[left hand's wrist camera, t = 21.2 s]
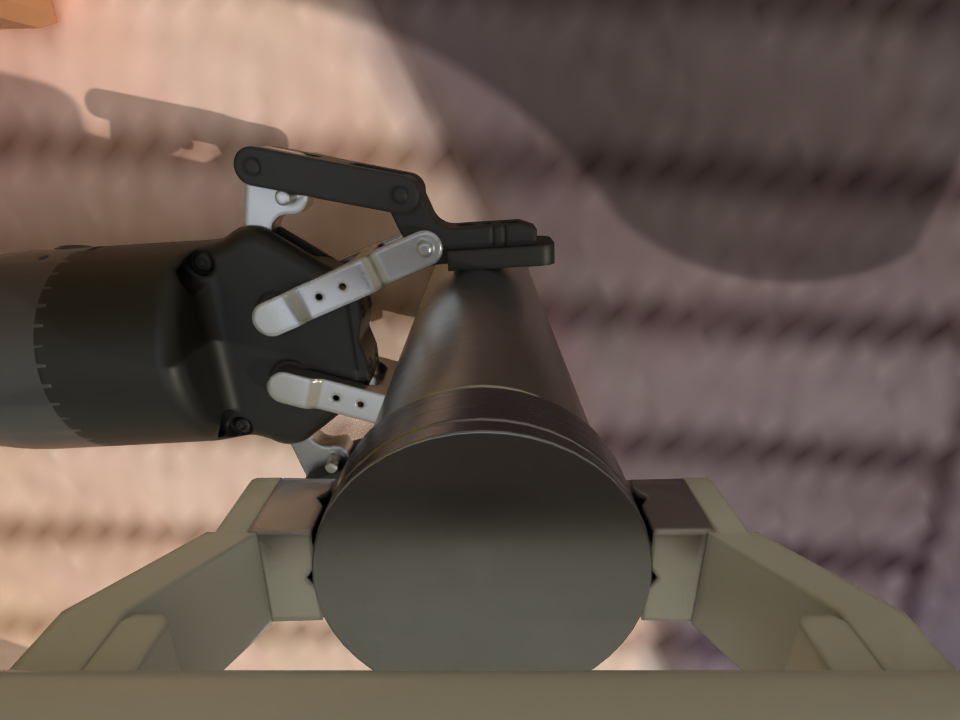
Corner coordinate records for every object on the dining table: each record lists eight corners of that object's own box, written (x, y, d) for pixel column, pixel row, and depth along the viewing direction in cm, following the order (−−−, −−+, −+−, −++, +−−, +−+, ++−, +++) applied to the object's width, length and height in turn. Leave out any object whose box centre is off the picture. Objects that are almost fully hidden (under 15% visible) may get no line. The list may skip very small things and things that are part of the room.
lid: (615, 627, 11) (637, 701, 10) (349, 629, 11) (330, 703, 10) (641, 383, 9) (672, 429, 8) (319, 386, 9) (289, 432, 8)
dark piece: (538, 242, 26) (657, 440, 9) (521, 338, 28) (592, 667, 10) (437, 228, 26) (346, 401, 8) (426, 325, 28) (331, 640, 10)
